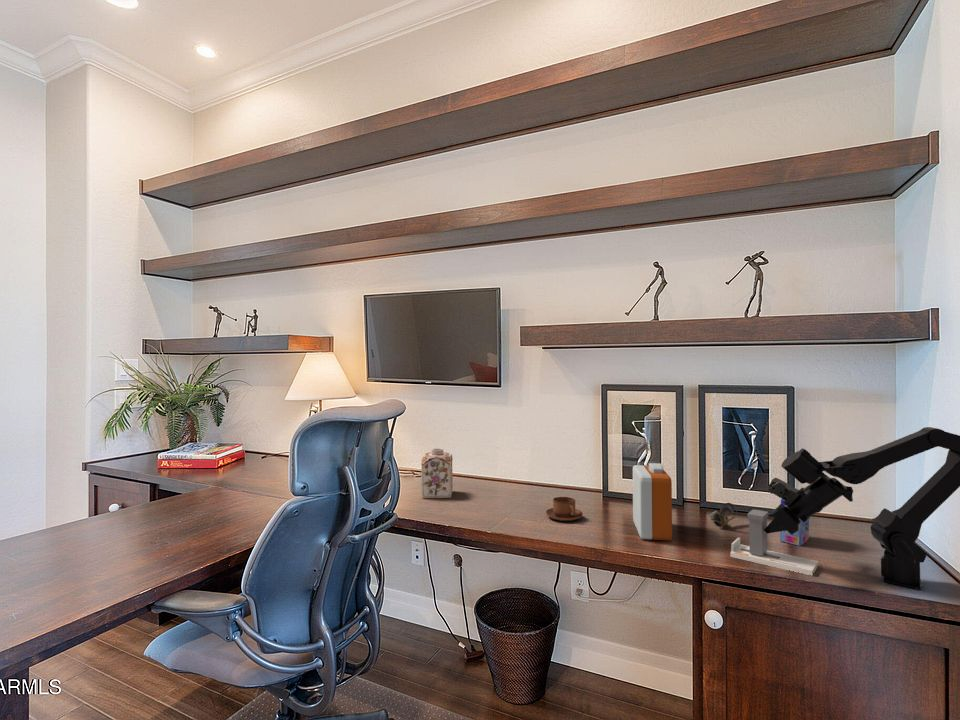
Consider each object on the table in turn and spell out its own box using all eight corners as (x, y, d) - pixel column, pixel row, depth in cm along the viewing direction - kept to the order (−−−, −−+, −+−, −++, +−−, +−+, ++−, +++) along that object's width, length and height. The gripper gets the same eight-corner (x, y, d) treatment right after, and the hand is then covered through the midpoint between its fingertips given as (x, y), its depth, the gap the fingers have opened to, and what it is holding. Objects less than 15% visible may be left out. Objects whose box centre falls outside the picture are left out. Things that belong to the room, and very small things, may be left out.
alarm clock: (672, 542, 141) (672, 470, 141) (640, 540, 142) (640, 469, 142) (661, 522, 159) (660, 458, 159) (632, 521, 160) (632, 457, 161)
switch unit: (817, 565, 123) (817, 553, 124) (812, 575, 118) (811, 562, 118) (739, 548, 136) (739, 536, 136) (730, 556, 130) (730, 544, 130)
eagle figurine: (743, 528, 149) (740, 513, 158) (728, 507, 150) (725, 493, 158) (718, 539, 152) (716, 524, 161) (703, 518, 153) (702, 504, 162)
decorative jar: (453, 491, 201) (452, 446, 201) (451, 498, 189) (451, 451, 189) (423, 491, 201) (423, 446, 201) (420, 498, 189) (420, 451, 189)
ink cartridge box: (802, 547, 137) (801, 494, 137) (779, 542, 141) (778, 491, 141) (810, 538, 144) (809, 488, 144) (788, 533, 148) (788, 485, 148)
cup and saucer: (590, 519, 163) (590, 500, 163) (565, 526, 156) (565, 506, 156) (562, 510, 173) (562, 493, 173) (538, 517, 165) (538, 499, 165)
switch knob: (768, 550, 130) (768, 511, 130) (763, 556, 126) (763, 516, 126) (753, 547, 132) (753, 509, 132) (747, 553, 128) (747, 513, 128)
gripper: (796, 464, 131) (750, 498, 139) (781, 475, 117) (731, 512, 125) (832, 499, 126) (783, 533, 133) (821, 515, 112) (766, 552, 119)
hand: (765, 531), depth 128 cm, fingers closed, pressing on switch knob
